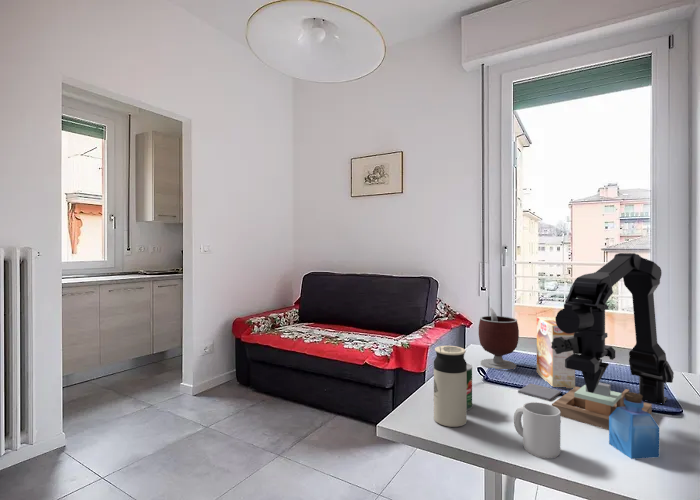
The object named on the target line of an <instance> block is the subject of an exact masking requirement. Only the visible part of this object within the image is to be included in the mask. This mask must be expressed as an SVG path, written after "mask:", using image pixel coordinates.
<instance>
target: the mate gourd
mask: <svg viewBox="0 0 700 500" xmlns="http://www.w3.org/2000/svg"><path fill="white" fill-rule="evenodd" d="M489 310H490V311H489V312H490V315H484V316H480V319H479V323H478V340H479V341H478V342H479V344H480V346H481V347H482V349H483V350H484V351H486V352H487V353H488V354H491V355H493V358H485V359H482V360H481V361H480V365H481V366H482V367H484V368H486V369H490V368H495V369H513V370H515V369H516V368H517V364H516V363H515V362H513V361H511V360H508V359H507V360H506V359H504V358H503V356H506V355H508V354H512V353H514V351H515V350H516V349H517V347H518V343H519V340H520V337H519V336H520V331H519V329H520V328H519V324H518V319H517V318H514V317H509V316H503V315H502V316H501V315H497V313H496V312H495V310H494V309H493V308H492V307H489ZM514 368H515V369H514Z"/></svg>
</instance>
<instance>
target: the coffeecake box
mask: <svg viewBox="0 0 700 500" xmlns="http://www.w3.org/2000/svg"><path fill="white" fill-rule="evenodd" d="M555 319H556V316H555V317H554V316H553V317H549V316H536V372H537V373H538V374H537V373H536V374H537V375H539V376H540V377H541V378H542V379H543V380H544V381H545V382H546V381H547V382H548V383H549V384H550V385H551V386H553V387H566V388H565V389H572V388H574V387H576V370H573V369H568V368H566V367H565V359H566V358H568V357H569V356H571V355H572V354H575V353H573V351H568V352H562V353H560V354H556V352H555V350H554V349H552V348H551V346H552V343H551V342H552V341H553V339H554V338H556V337H557V338H558V337H563V338H567V337H572V336H574V333H565V332H563V331H561V330H560V329H559V328H558V326H557V324H556V320H555ZM547 382H546V383H547ZM548 383H547V384H548ZM549 384H548V385H549ZM550 385H549V386H550ZM551 386H550V387H551Z"/></svg>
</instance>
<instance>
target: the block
mask: <svg viewBox="0 0 700 500" xmlns="http://www.w3.org/2000/svg"><path fill="white" fill-rule="evenodd" d="M585 410H589V411H593V412H597V413H600V414H604V415H608V416H610V415H611V406H610V405H606V404H602V403H598V402H594V401H590V400H586V399H585Z"/></svg>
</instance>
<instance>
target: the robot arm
mask: <svg viewBox="0 0 700 500" xmlns="http://www.w3.org/2000/svg"><path fill="white" fill-rule="evenodd" d="M662 273H663V272H662V269H661V267H660V266H659V265H658V264H657V263H656V262H655V261H653V260H650V259H648V258H644V257H642V256H641V255H639V254H638V253H635V252H633V253H632V252H629V253H628V252H619V253H616V254H615V255H614V257H613V258H612V259H611V260H609V261H608V262H607V263H606V264H604V265H603V266H601V267H600V268H599V269H598V270H596V271H595V272H592V273H591V272H590V273H585V274H583V275H580V276H578V277H576V279H574V281H573V282H572V285H571V287H570V290H569V292H568V294H567V296H566V298H565V299H566V300H565V301H564V304H563V308H562V309H560V310H559V311H558V312H557V313H556V316H555V317H556V319H555V320H556V324H557V326H558V328H559V329H560V330H561V331H563V332H565V333H574V336H572V337H567V338H563V337H558V338H557V337H556V338H554V339H553V341H552V342H551V343H552V346H551V348H552V349H554V350H555V352H556V354H560V353H562V352H568V351H573V353H575V354H572V355H571V356H569V357H568V358H566V359H565V367H566V368H568V369H573V370H575V371H578V372H581V373H582V376H583V379H584V382H585V385H586V386H587V390H588V392H590V393H593V392H594V391H595V389H596V387H597V385H598V383H599V382H600V381H601V379H602V377H603V375H604V374H605V372H606V370H607V368H608V366H609V365H610V364H609V363H608V362H603V359H602V358H604V357H609V360H612V361H613V360H614V359H615V358H616V350H615V349H614V348H613V347H612V346H611V345H606V339H607V338H608V332H606V310H609V309H610V308H609V305H608V304H606V303H607V301H608V300H609V299H610V297H612V295H613V294H614V290H613V287H614V286H615V284H617V283H618V282H619V281H621V280H623V283H624V284H623V285H624V287H625V288H626V289H627V290H628V291H629V292H630V293H631V297H632V310H633V319H634V320H633V321H634V330H635V331H634V333H635V342H636V343H635V345H634V346H633V347H632V349H630V350H629V352H628V355H629V359H628V365H629V368H630V375H631V376H635V377H636V376H637V377H638V380H639V383H638V385H639V386H638V388H639V389H638V393H637V394H640V395H642V396H643V397H642V401H644V400H646V402H649V401H651V402H650V403H653V402H657V403H662V404H664V403H665V404H666V402H667V401H668V399H667V398H668V397H667V396H665V384H667V383H669V384H670V383H673V382H674V380H673V379H674V375H675V373H674V371H673V369H672V367H671V365H670V363H669V362H668V360H667V356H666V352H665V350H664V349H663V348H662V347H661V345H660V344H659V343H658V335H657V324H656V323H657V322H656V321H657V319H656V310H655V308H656V307H655V299H654V298H655V295H654V293H655V291H656V290H657V289H658V287H659V285H660V284H661V278H662ZM666 400H667V401H666ZM665 401H666V402H665ZM657 403H656V404H657ZM662 404H661V405H662ZM665 404H664V405H665Z"/></svg>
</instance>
